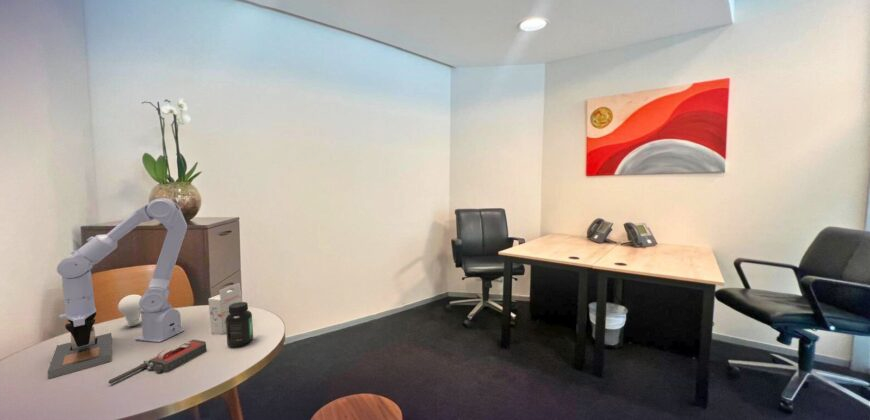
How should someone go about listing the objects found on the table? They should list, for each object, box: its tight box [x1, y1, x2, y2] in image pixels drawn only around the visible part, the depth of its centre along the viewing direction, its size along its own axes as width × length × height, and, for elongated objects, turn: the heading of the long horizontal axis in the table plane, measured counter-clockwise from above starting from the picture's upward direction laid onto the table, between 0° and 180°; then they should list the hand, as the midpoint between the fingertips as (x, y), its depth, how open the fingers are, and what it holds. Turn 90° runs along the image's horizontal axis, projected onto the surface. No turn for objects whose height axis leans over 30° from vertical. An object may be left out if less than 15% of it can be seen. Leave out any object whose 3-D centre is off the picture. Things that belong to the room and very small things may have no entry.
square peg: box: [70, 325, 96, 350], centre depth 92 cm, size 4×4×6 cm
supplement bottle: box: [225, 301, 254, 349], centre depth 96 cm, size 7×7×12 cm
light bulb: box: [117, 294, 143, 328], centre depth 108 cm, size 7×7×11 cm
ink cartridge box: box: [207, 282, 243, 335], centre depth 106 cm, size 9×5×15 cm, turn 168°
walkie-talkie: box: [108, 339, 207, 385], centre depth 85 cm, size 9×4×20 cm
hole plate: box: [47, 332, 113, 380], centre depth 89 cm, size 18×11×2 cm, turn 45°
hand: (83, 342), depth 92 cm, fingers closed on square peg, 4 cm apart
